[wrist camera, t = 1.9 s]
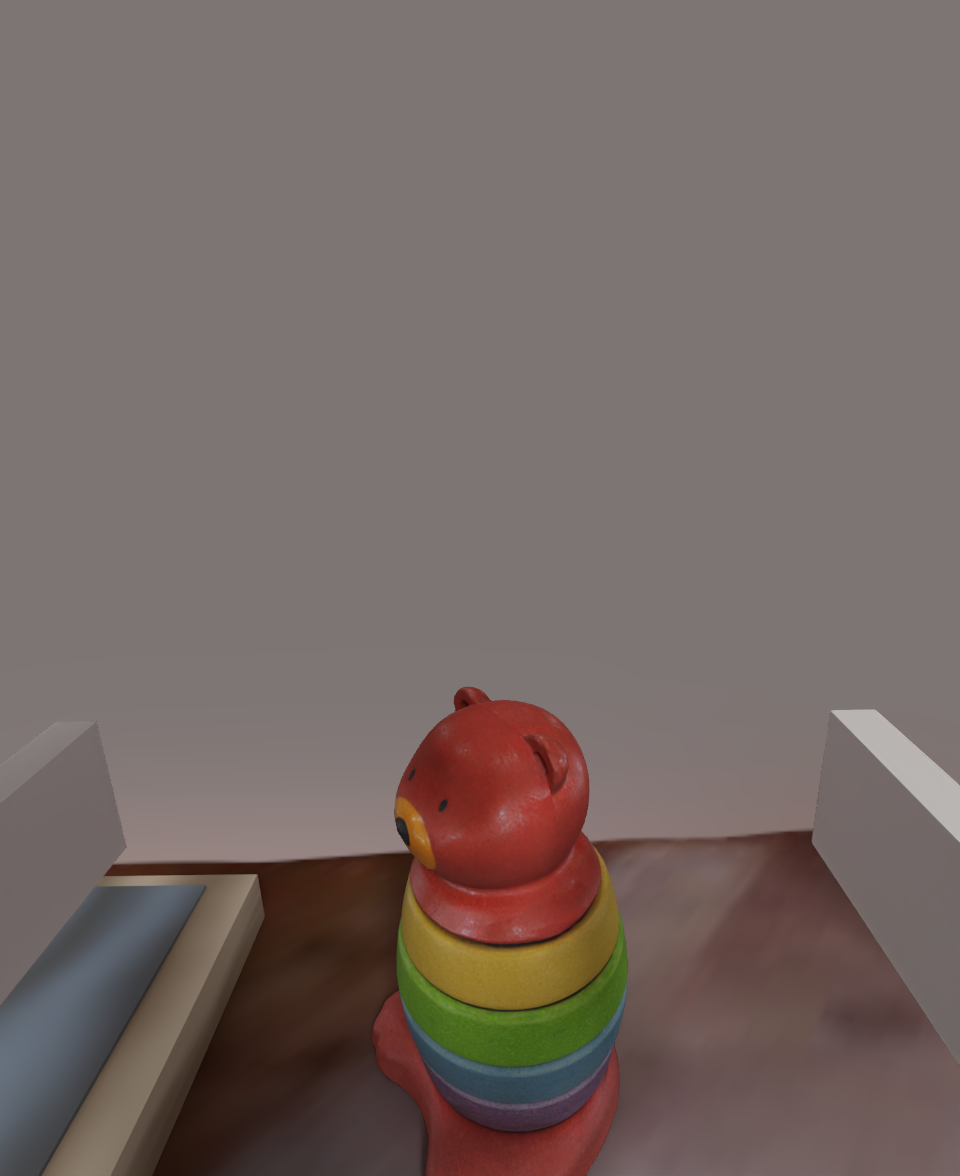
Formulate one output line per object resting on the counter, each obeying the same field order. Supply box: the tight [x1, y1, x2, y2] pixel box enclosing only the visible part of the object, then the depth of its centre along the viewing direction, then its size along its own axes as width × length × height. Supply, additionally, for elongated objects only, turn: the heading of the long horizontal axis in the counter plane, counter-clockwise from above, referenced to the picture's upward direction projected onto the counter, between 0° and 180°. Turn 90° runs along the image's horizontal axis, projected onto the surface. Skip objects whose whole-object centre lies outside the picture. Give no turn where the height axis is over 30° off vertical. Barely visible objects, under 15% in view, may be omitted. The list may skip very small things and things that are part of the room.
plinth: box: [0, 874, 265, 1176], centre depth 31 cm, size 18×16×3 cm
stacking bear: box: [372, 687, 628, 1176], centre depth 26 cm, size 11×10×18 cm
